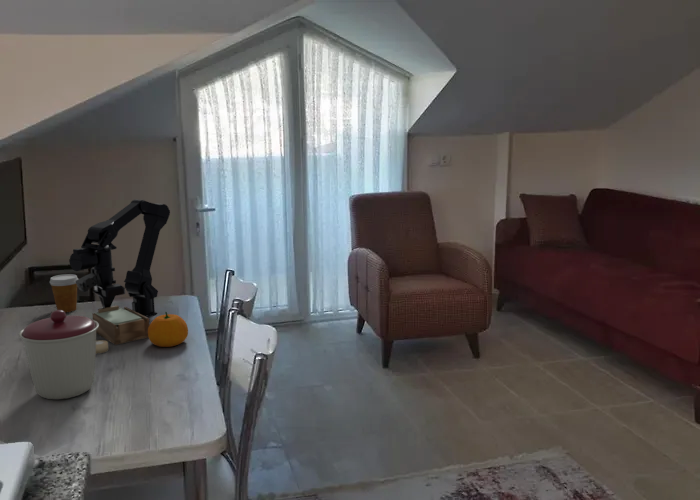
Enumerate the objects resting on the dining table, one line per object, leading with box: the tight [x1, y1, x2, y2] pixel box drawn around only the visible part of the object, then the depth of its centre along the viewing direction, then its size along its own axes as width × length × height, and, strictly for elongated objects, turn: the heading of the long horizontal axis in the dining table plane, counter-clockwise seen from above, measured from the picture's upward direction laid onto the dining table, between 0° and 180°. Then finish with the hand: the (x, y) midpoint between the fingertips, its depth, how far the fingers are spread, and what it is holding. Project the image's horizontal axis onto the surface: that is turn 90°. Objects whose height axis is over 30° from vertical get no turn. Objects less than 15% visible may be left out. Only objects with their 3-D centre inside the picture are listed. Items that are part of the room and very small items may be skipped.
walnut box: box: [91, 306, 150, 346], centre depth 213 cm, size 11×17×6 cm, turn 41°
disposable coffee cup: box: [49, 273, 79, 313], centre depth 240 cm, size 10×10×12 cm
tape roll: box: [96, 339, 109, 355], centre depth 199 cm, size 5×5×2 cm
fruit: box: [148, 311, 189, 348], centre depth 204 cm, size 12×12×10 cm
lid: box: [94, 305, 142, 325], centre depth 215 cm, size 9×15×2 cm, turn 41°
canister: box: [18, 309, 99, 400], centre depth 168 cm, size 18×18×21 cm
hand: (106, 311), depth 221 cm, fingers closed
